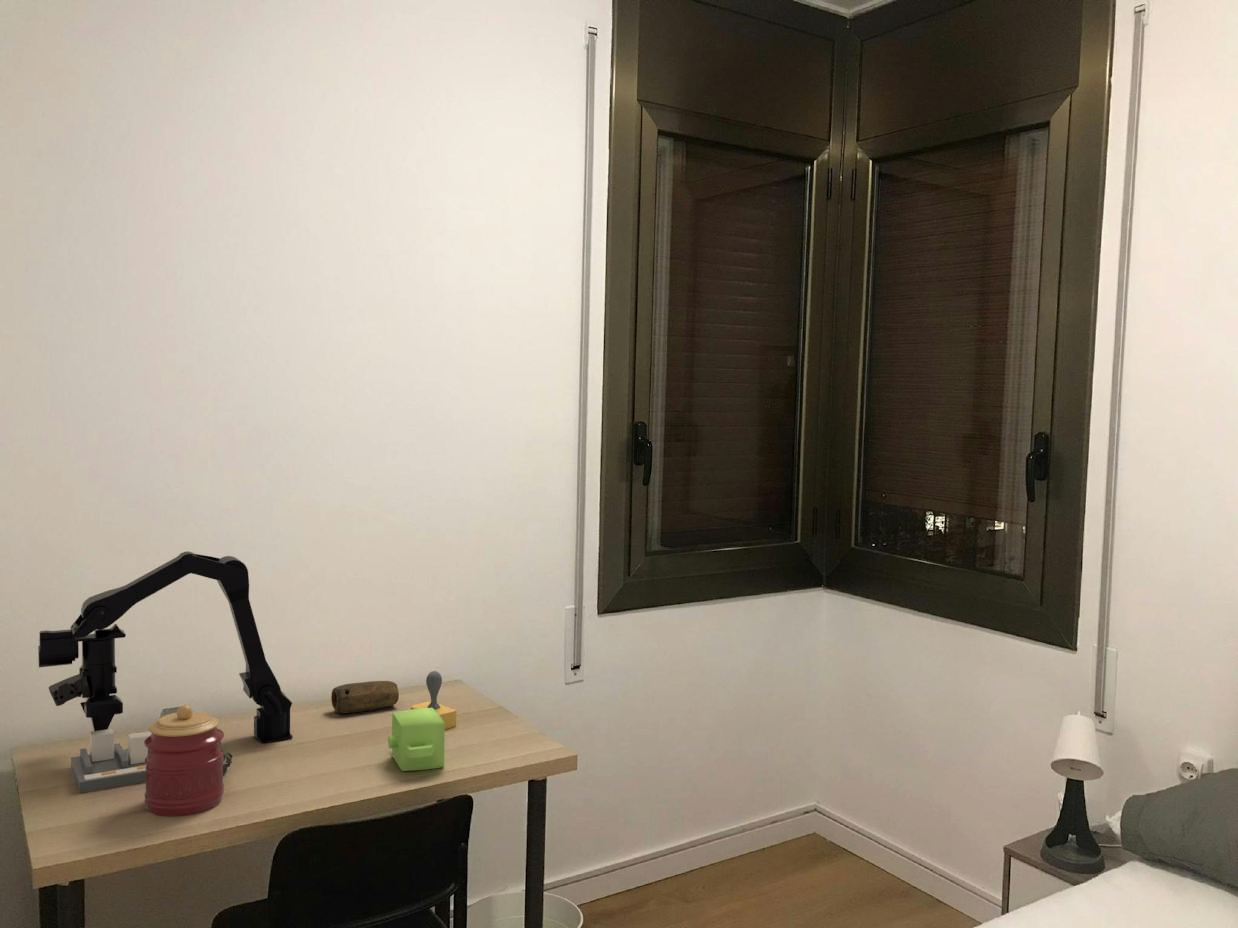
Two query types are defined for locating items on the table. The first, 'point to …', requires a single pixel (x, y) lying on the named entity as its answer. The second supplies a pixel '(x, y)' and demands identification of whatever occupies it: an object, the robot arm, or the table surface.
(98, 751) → the tab
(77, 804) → the table surface
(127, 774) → the switch panel
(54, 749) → the table surface
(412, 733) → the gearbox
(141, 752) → the tab
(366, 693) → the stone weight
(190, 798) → the canister
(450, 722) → the rubber stamp
